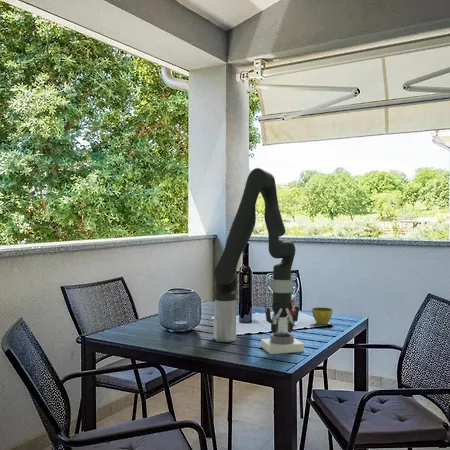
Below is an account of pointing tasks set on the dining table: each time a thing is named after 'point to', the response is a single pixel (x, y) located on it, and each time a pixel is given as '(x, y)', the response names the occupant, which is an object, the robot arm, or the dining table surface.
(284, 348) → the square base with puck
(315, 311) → the flower pot
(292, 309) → the soda can
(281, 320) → the pale grey cylinder
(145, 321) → the dining table surface
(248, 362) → the dining table surface
